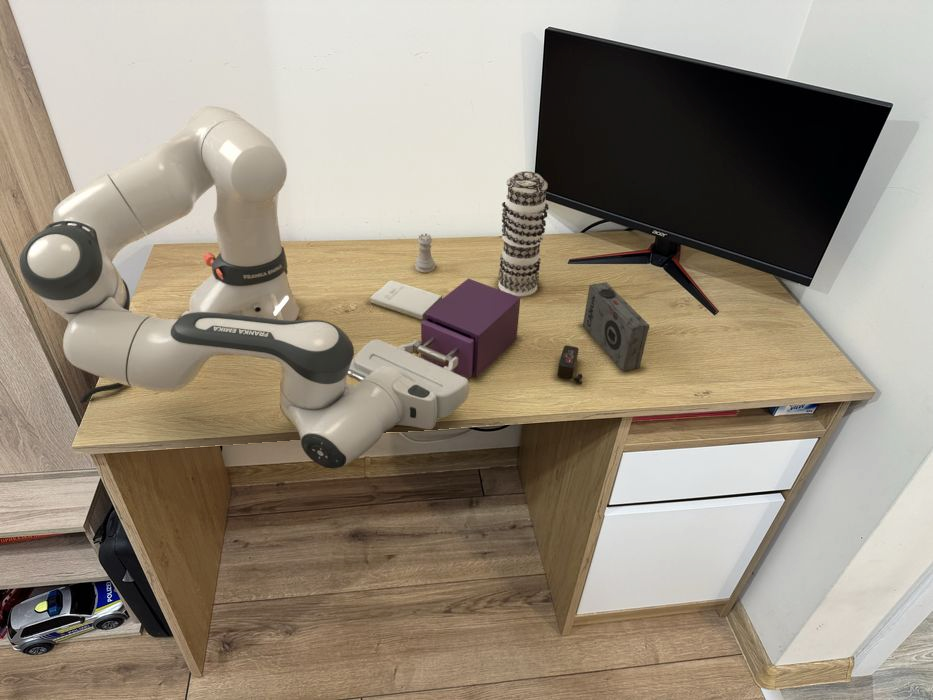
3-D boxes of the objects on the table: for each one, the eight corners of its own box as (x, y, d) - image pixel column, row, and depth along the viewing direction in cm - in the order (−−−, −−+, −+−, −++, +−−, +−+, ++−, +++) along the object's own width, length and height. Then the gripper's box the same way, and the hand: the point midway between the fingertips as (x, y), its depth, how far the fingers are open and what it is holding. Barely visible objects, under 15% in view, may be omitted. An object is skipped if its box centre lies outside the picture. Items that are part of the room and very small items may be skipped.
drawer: (455, 391, 121) (456, 356, 117) (407, 369, 126) (406, 334, 121) (507, 341, 133) (510, 307, 129) (461, 323, 138) (462, 289, 133)
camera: (579, 323, 140) (586, 281, 134) (596, 320, 142) (604, 277, 136) (621, 372, 128) (631, 328, 122) (640, 368, 130) (650, 324, 124)
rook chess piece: (411, 265, 156) (411, 233, 151) (430, 261, 158) (430, 230, 153) (419, 275, 153) (419, 242, 148) (438, 271, 155) (438, 239, 150)
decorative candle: (535, 300, 147) (547, 189, 131) (492, 293, 148) (499, 182, 133) (542, 278, 154) (555, 170, 138) (501, 271, 155) (510, 164, 140)
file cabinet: (476, 378, 126) (478, 335, 120) (423, 355, 130) (423, 313, 125) (516, 339, 136) (520, 297, 130) (466, 319, 140) (468, 278, 135)
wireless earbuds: (555, 381, 126) (557, 367, 124) (562, 358, 131) (564, 344, 129) (581, 387, 125) (583, 373, 123) (586, 363, 130) (589, 349, 128)
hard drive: (422, 321, 139) (370, 303, 144) (442, 301, 145) (391, 285, 149) (422, 314, 138) (369, 296, 143) (442, 294, 144) (391, 278, 148)
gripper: (339, 385, 118) (390, 345, 128) (439, 434, 110) (485, 387, 119) (337, 355, 115) (389, 316, 124) (439, 404, 106) (487, 358, 115)
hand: (437, 351), depth 122 cm, fingers closed on drawer, 6 cm apart
